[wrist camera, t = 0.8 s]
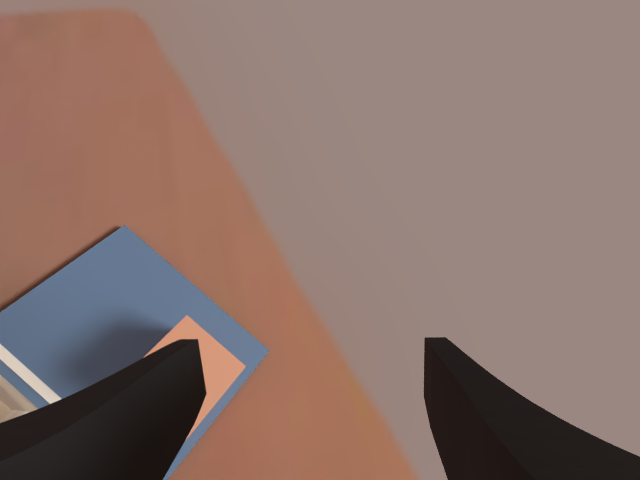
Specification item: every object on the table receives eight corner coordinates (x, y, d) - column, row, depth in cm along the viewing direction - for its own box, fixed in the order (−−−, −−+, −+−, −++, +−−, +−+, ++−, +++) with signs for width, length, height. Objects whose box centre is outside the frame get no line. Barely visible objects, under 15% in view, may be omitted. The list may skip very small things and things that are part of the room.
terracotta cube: (184, 437, 22) (186, 440, 18) (129, 388, 22) (119, 381, 18) (235, 375, 24) (246, 366, 20) (185, 332, 24) (187, 314, 20)
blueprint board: (-33, 730, 15) (-43, 744, 14) (-267, 508, 15) (-287, 511, 15) (267, 352, 26) (270, 350, 25) (125, 228, 26) (124, 223, 26)
